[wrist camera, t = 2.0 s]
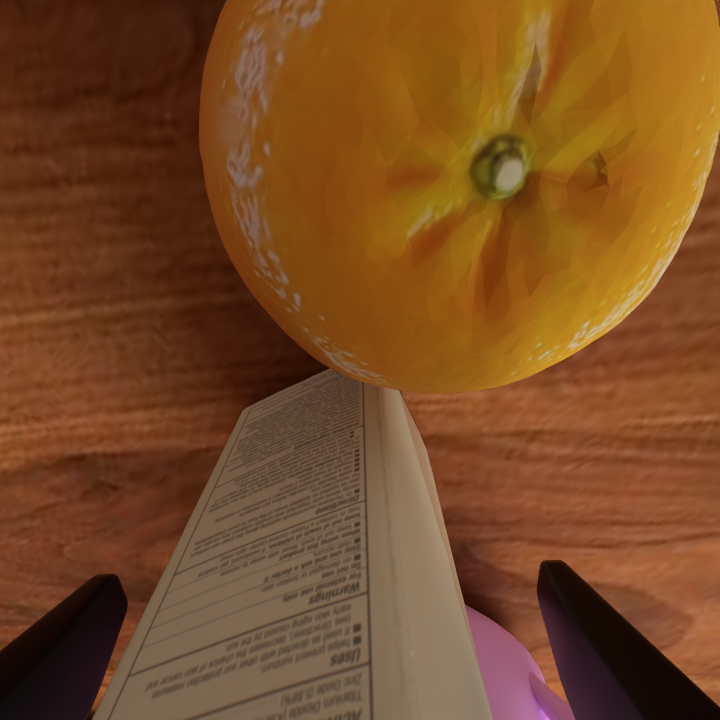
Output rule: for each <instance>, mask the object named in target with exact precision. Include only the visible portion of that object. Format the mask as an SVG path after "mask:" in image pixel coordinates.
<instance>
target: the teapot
mask: <svg viewBox="0 0 720 720" xmlns="http://www.w3.org/2000/svg"><path fill="white" fill-rule="evenodd" d="M465 609H466V613H467V617H468V621H469V625H470V629H471V633H472V637H473V641H474V646H475V650H476V654H477V658H478V662H479V666H480V670H481V674H482V678H483V682H484V686H485V690H486V694H487V699H488V703H489V707H490V711H491V715H492V719H493V720H575V718H574V715H573V712H572V710H571V707H570V706H569V705H568V704H567V703H566V702H565V701H564V700H563V699H561V698H560V697H559V696H558V695H557V694H556V693H554V692H553V691H552V690H551V689H550V688H549V687H548V686H547V685H546V684H545V680H544V677H543V675H542V673H541V670H540V668H539V666H538V665H537V663H536V662H535V660H534V659H533V658H532V656H531V655H530V654H529V652H528V651H527V649H526V648H525V647H524V646H523V645H522V644H521V643H520V642H519V641H518V640H517V639H516V638H515V637H514V636H513V635H511V634H510V633H509V632H508V631H506V630H505V629H504V628H502V627H501V626H499V625H498V624H497V623H495V622H494V621H492V620H491V619H489V618H488V617H486V616H485V615H483V614H481V613H479V612H478V611H476V610H474V609H472V608H470V607H469V606H467V605H465Z"/></svg>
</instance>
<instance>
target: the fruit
mask: <svg viewBox="0 0 720 720" xmlns="http://www.w3.org/2000/svg"><path fill="white" fill-rule="evenodd" d="M719 130H720V28H719V20H718V14H717V10H716V5H715V0H226V2H225V5H224V7H223V9H222V11H221V13H220V15H219V18H218V21H217V25H216V28H215V31H214V34H213V37H212V40H211V43H210V46H209V49H208V53H207V57H206V60H205V64H204V71H203V78H202V86H201V96H200V115H199V148H200V154H201V159H202V164H203V172H204V180H205V188H206V191H207V195H208V199H209V202H210V206H211V210H212V214H213V218H214V221H215V224H216V227H217V229H218V232H219V235H220V237H221V240H222V243H223V245H224V247H225V249H226V251H227V253H228V255H229V257H230V259H231V260H232V262H233V264H234V266H235V268H236V270H237V272H238V273H239V275H240V276H241V278H242V279H243V281H244V283H245V284H246V286H247V287H248V289H249V291H250V292H251V293H252V294H253V296H254V297H255V298H256V300H257V301H258V302H259V304H260V305H261V306H262V307H263V308H264V309H265V310H266V312H267V313H268V314H269V315H270V316H271V317H272V318H273V319H274V321H275V322H276V323H277V324H278V325H279V326H280V327H281V329H282V330H283V331H284V332H285V333H286V334H287V335H288V336H289V337H290V338H291V339H292V340H294V341H295V342H296V343H297V344H298V345H299V346H300V347H301V348H302V349H303V350H305V351H306V352H307V353H308V354H310V355H311V356H312V357H313V358H315V359H316V360H317V361H319V362H321V363H322V364H324V365H326V366H327V367H329V368H331V369H333V370H335V371H337V372H339V373H341V374H343V375H345V376H347V377H350V378H352V379H354V380H357V381H361V382H364V383H367V384H371V385H375V386H380V387H385V388H389V389H394V390H399V391H405V392H413V393H422V394H450V393H463V392H469V391H475V390H482V389H488V388H494V387H499V386H503V385H506V384H509V383H512V382H515V381H518V380H521V379H524V378H527V377H529V376H531V375H533V374H535V373H537V372H539V371H541V370H543V369H545V368H547V367H549V366H552V365H554V364H556V363H558V362H560V361H561V360H563V359H565V358H567V357H569V356H571V355H572V354H574V353H576V352H577V351H579V350H580V349H582V348H583V347H585V346H587V345H588V344H590V343H591V342H593V341H594V340H596V339H597V338H599V337H601V336H602V335H604V334H605V333H607V332H608V331H609V330H611V329H612V328H614V327H615V326H616V325H618V324H619V323H620V322H622V321H623V320H624V319H625V318H626V317H627V316H628V315H629V314H630V313H631V312H632V311H633V310H634V309H635V308H636V307H637V306H638V305H639V304H640V303H641V302H642V301H643V300H644V299H645V298H646V297H647V296H648V295H649V294H650V293H651V291H652V290H653V288H654V287H655V286H656V284H657V283H658V281H659V279H660V278H661V276H662V275H663V273H664V272H665V270H666V268H667V267H668V265H669V264H670V262H671V261H672V259H673V258H674V256H675V255H676V253H677V251H678V248H679V246H680V244H681V241H682V239H683V237H684V235H685V233H686V231H687V229H688V228H689V226H690V224H691V222H692V220H693V218H694V215H695V213H696V210H697V208H698V206H699V203H700V201H701V198H702V195H703V191H704V187H705V184H706V180H707V177H708V175H709V172H710V170H711V167H712V163H713V159H714V155H715V151H716V147H717V143H718V139H719Z"/></svg>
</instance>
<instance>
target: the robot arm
mask: <svg viewBox="0 0 720 720" xmlns="http://www.w3.org/2000/svg"><path fill="white" fill-rule="evenodd" d="M537 596H538V601H539V605H540V608H541V612H542V615H543V619H544V623H545V626H546V630H547V633H548V637H549V641H550V644H551V648H552V651H553V655H554V659H555V662H556V666H557V669H558V673H559V676H560V680H561V683H562V686H563V688H564V691H565V694H566V697H567V699H568V702H569V705H570V707H571V710H572V712H573V715H574V718H575V720H720V707H719V706H718V705H717V704H716V703H715V702H714V701H712V700H711V699H710V698H709V697H708V696H707V695H706V694H705V693H704V692H703V691H702V690H701V689H700V688H699V687H697V686H696V685H695V684H694V683H693V682H692V681H691V680H690V679H689V678H688V677H687V676H686V675H685V674H684V673H683V672H681V671H680V670H679V669H678V668H677V667H676V666H675V665H674V664H673V663H672V662H671V661H670V660H669V659H668V658H666V657H665V656H664V655H663V654H662V653H661V652H660V651H659V650H658V649H657V648H656V647H655V646H654V645H653V644H651V643H650V642H649V641H648V640H647V639H646V638H645V637H644V636H643V635H642V634H641V633H640V632H639V631H638V630H637V629H635V628H634V627H633V626H632V625H631V624H630V623H629V622H628V621H627V620H626V619H625V618H624V617H623V616H622V615H620V614H619V613H618V612H617V611H616V610H615V609H614V608H613V607H612V606H611V605H610V604H609V603H608V602H607V601H605V600H604V599H603V598H602V597H601V596H600V595H599V594H598V593H597V592H596V591H595V590H594V589H593V588H592V587H591V586H589V585H588V584H587V583H586V582H585V581H584V580H583V579H582V578H581V577H580V576H579V575H578V574H577V573H576V572H574V571H573V570H572V569H571V568H570V567H569V566H568V565H567V564H566V563H565V562H563V561H561V560H545V561H542V563H541V565H540V570H539V577H538V584H537ZM127 607H128V601H127V597H126V594H125V592H124V590H123V587H122V585H121V582H120V580H119V578H118V576H117V575H115V574H99V575H96V576H94V577H92V578H91V579H90V580H88V581H87V582H86V583H85V584H83V585H82V586H81V587H80V588H78V589H77V590H76V591H75V592H73V593H72V594H71V595H70V596H68V597H67V598H66V599H65V600H63V601H62V602H61V603H60V604H58V605H57V606H56V607H55V608H53V609H52V610H51V611H50V612H48V613H47V614H46V615H45V616H43V617H42V618H41V619H40V620H38V621H37V622H36V623H35V624H33V625H32V626H31V627H30V628H28V629H27V630H26V631H25V632H23V633H22V634H21V635H20V636H18V637H17V638H16V639H15V640H13V641H12V642H11V643H10V644H8V645H7V646H6V647H5V648H3V649H2V650H1V651H0V720H86V719H87V717H88V715H89V713H90V710H91V708H92V706H93V704H94V701H95V699H96V697H97V694H98V692H99V689H100V687H101V684H102V681H103V679H104V676H105V673H106V670H107V667H108V664H109V661H110V658H111V655H112V653H113V650H114V647H115V644H116V641H117V638H118V635H119V632H120V629H121V626H122V624H123V621H124V618H125V615H126V612H127Z"/></svg>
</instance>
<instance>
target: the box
mask: <svg viewBox="0 0 720 720" xmlns="http://www.w3.org/2000/svg"><path fill="white" fill-rule="evenodd" d="M92 720H493V719H492V715H491V711H490V707H489V703H488V699H487V694H486V690H485V686H484V682H483V678H482V674H481V670H480V666H479V662H478V658H477V654H476V650H475V646H474V641H473V637H472V633H471V629H470V625H469V621H468V617H467V613H466V609H465V604H464V600H463V596H462V592H461V589H460V585H459V581H458V577H457V573H456V569H455V565H454V561H453V557H452V552H451V548H450V544H449V540H448V536H447V532H446V528H445V524H444V520H443V515H442V511H441V507H440V503H439V498H438V494H437V490H436V486H435V482H434V477H433V473H432V470H431V466H430V461H429V457H428V453H427V449H426V447H425V445H424V442H423V440H422V438H421V436H420V434H419V431H418V429H417V427H416V425H415V422H414V420H413V418H412V416H411V414H410V412H409V410H408V408H407V406H406V404H405V402H404V400H403V398H402V395H401V393H400V391H399V390H394V389H389V388H385V387H380V386H375V385H371V384H367V383H364V382H361V381H357V380H354V379H352V378H350V377H347V376H345V375H343V374H341V373H339V372H337V371H335V370H333V369H331V368H330V369H327V370H325V371H323V372H321V373H319V374H316V375H314V376H312V377H310V378H308V379H306V380H304V381H302V382H299V383H297V384H295V385H293V386H291V387H288V388H286V389H284V390H282V391H280V392H277V393H275V394H273V395H272V396H269V397H267V398H265V399H263V400H261V401H259V402H257V403H255V404H253V405H251V406H249V407H247V408H245V409H244V410H243V411H242V413H241V415H240V417H239V419H238V421H237V423H236V425H235V428H234V430H233V431H232V433H231V435H230V437H229V439H228V442H227V444H226V446H225V448H224V450H223V452H222V454H221V456H220V458H219V460H218V462H217V464H216V466H215V468H214V470H213V472H212V474H211V476H210V478H209V480H208V483H207V484H206V486H205V488H204V490H203V493H202V495H201V497H200V499H199V501H198V503H197V505H196V507H195V509H194V511H193V513H192V515H191V517H190V519H189V521H188V523H187V525H186V527H185V530H184V532H183V534H182V536H181V538H180V540H179V542H178V544H177V546H176V548H175V550H174V552H173V554H172V556H171V558H170V560H169V562H168V564H167V566H166V569H165V571H164V573H163V574H162V576H161V578H160V580H159V582H158V584H157V587H156V589H155V591H154V593H153V595H152V597H151V599H150V601H149V603H148V605H147V607H146V609H145V611H144V613H143V615H142V618H141V620H140V622H139V624H138V626H137V628H136V630H135V632H134V634H133V636H132V638H131V640H130V642H129V644H128V646H127V648H126V650H125V652H124V654H123V656H122V658H121V660H120V662H119V665H118V667H117V669H116V671H115V673H114V675H113V677H112V679H111V681H110V683H109V685H108V688H107V690H106V692H105V694H104V696H103V698H102V700H101V702H100V704H99V706H98V708H97V710H96V712H95V714H94V716H93V718H92Z"/></svg>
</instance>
